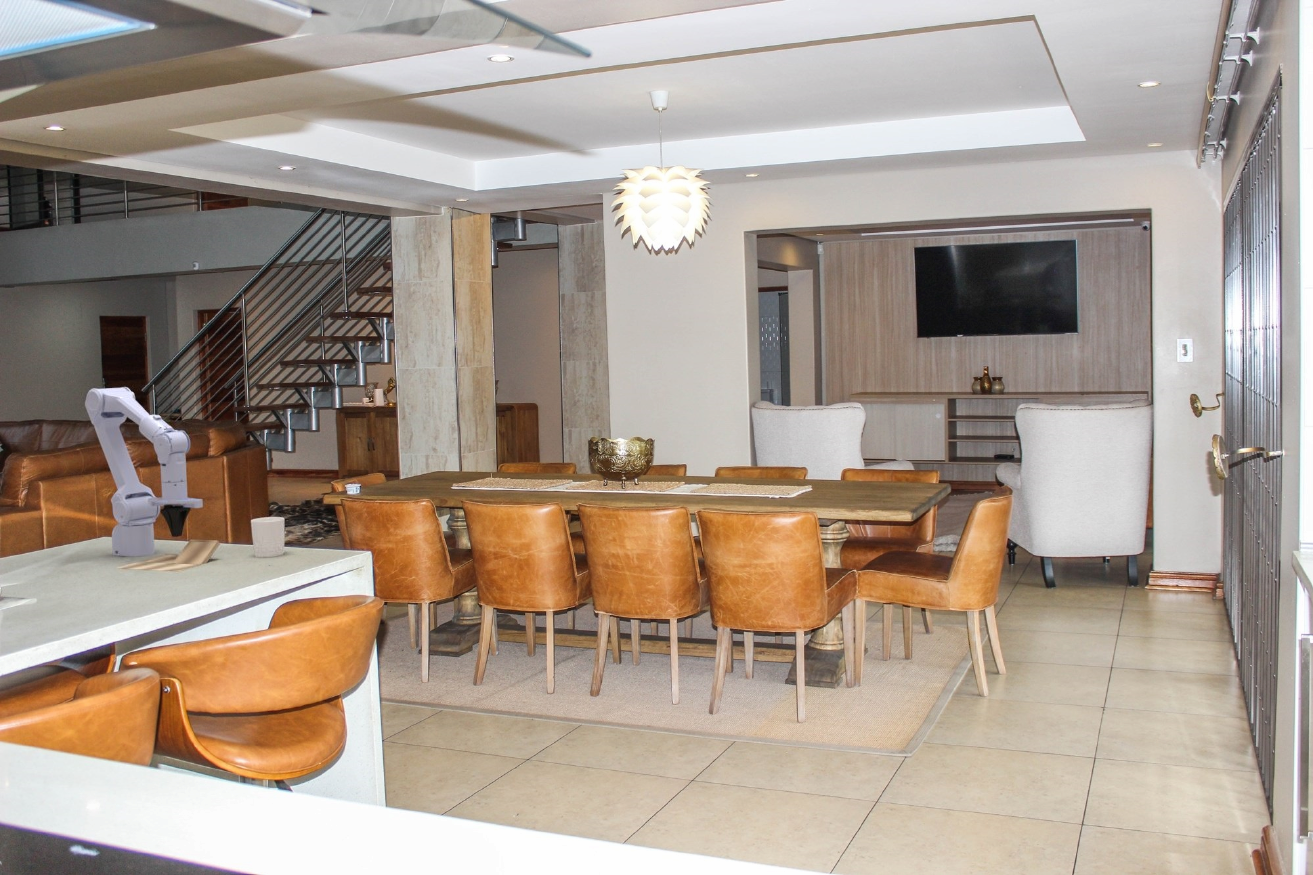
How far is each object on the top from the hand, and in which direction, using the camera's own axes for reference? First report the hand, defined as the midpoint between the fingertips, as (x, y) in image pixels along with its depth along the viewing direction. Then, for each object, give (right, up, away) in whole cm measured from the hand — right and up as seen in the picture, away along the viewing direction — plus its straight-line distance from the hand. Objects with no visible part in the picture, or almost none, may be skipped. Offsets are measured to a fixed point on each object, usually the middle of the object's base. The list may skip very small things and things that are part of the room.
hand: (176, 536), depth 279 cm
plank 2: (+6, -4, -3) cm, 8 cm away
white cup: (+22, -6, +4) cm, 23 cm away
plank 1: (-2, -7, 0) cm, 7 cm away
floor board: (0, -8, -10) cm, 12 cm away
